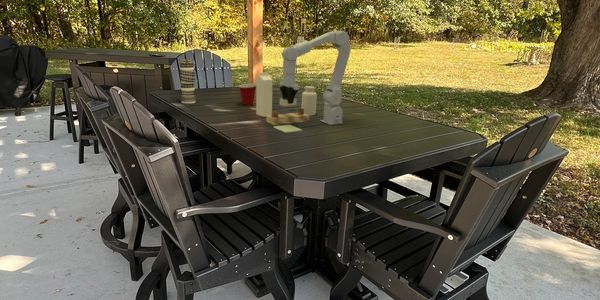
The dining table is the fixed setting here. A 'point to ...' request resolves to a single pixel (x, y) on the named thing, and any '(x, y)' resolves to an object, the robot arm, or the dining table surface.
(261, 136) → the dining table surface
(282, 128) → the rubber mat
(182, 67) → the decorative candle
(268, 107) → the milk
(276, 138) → the dining table surface
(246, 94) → the plastic cup
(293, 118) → the plane body
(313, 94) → the pill bottle
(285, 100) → the lever cap
